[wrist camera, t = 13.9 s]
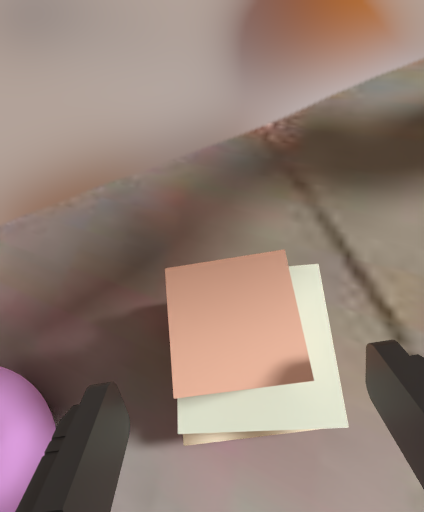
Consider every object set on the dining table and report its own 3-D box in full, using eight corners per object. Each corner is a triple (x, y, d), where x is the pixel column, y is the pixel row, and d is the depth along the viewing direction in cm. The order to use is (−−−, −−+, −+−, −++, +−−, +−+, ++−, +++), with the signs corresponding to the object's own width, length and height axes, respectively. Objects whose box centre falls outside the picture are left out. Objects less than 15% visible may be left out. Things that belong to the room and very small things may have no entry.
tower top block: (306, 283, 26) (318, 263, 22) (328, 416, 23) (348, 427, 18) (189, 293, 27) (176, 276, 22) (192, 422, 23) (177, 434, 19)
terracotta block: (272, 300, 21) (284, 249, 13) (288, 379, 19) (314, 380, 11) (199, 311, 21) (164, 268, 13) (208, 389, 20) (173, 398, 11)
